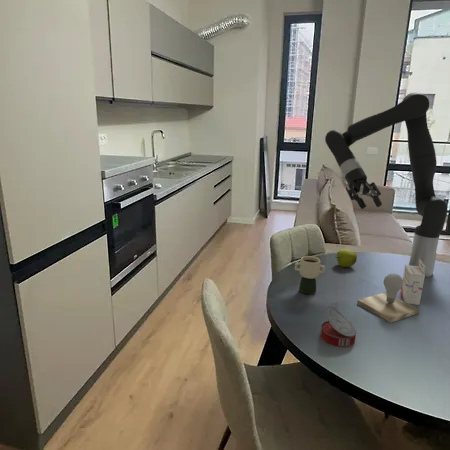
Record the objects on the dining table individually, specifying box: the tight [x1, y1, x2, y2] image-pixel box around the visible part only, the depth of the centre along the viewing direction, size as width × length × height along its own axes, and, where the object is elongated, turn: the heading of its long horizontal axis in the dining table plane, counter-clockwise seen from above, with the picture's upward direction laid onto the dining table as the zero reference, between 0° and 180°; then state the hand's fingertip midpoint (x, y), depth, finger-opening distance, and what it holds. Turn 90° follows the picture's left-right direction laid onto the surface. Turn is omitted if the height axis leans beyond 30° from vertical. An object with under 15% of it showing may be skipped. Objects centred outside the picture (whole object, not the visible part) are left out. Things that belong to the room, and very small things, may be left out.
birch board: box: [357, 292, 420, 323], centre depth 131 cm, size 14×14×2 cm
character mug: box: [294, 255, 326, 295], centre depth 140 cm, size 11×7×13 cm, turn 76°
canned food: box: [320, 306, 357, 348], centre depth 112 cm, size 11×10×10 cm
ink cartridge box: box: [400, 259, 426, 306], centre depth 137 cm, size 9×5×15 cm, turn 168°
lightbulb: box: [383, 273, 403, 304], centre depth 130 cm, size 6×6×11 cm
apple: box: [334, 248, 357, 268], centre depth 166 cm, size 8×9×8 cm
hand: (372, 206), depth 145 cm, fingers open, 8 cm apart
